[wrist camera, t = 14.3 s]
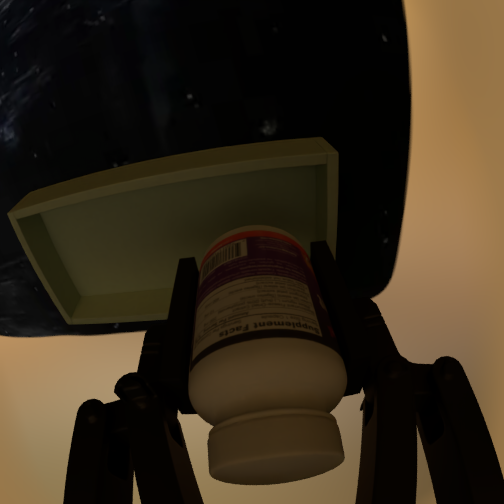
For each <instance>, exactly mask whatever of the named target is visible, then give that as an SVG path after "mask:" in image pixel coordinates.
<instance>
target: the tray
mask: <svg viewBox="0 0 504 504" xmlns="http://www.w3.org/2000/svg"><path fill="white" fill-rule="evenodd" d="M7 214H8V217H9V219H10V221H11V224H12V226H13V228H14V230H15V232H16V234H17V236H18V238H19V241H20V243H21V245H22V247H23V249H24V251H25V253H26V254H27V256H28V258H29V260H30V262H31V264H32V266H33V268H34V269H35V271H36V273H37V275H38V277H39V278H40V280H41V282H42V284H43V285H44V287H45V289H46V290H47V292H48V294H49V295H50V297H51V299H52V300H53V302H54V303H55V305H56V307H57V308H58V310H59V311H60V313H61V314H62V316H63V317H64V319H65V320H66V322H67V323H68V324H95V323H116V322H134V321H149V320H163V319H167V318H168V313H169V307H170V302H171V297H172V292H173V287H174V282H175V277H176V272H177V267H178V262H179V259H181V258H188V257H195V260H196V263H197V267H198V271H200V265H201V261H202V258H203V256H204V254H205V252H206V250H207V249H208V248H209V246H210V245H211V244H212V243H213V242H214V241H215V240H216V239H217V238H219V237H220V236H222V235H223V234H225V233H227V232H229V231H231V230H234V229H236V228H240V227H244V226H250V225H265V226H271V227H275V228H279V229H281V230H284V231H286V232H288V233H289V234H291V235H292V236H294V237H295V238H296V239H297V240H298V241H299V242H300V243H301V244H302V246H303V247H304V248H305V250H306V252H307V254H308V256H309V259H310V242H315V241H323V240H326V241H327V244H328V246H329V248H330V250H331V252H332V255H333V257H334V259H335V255H336V237H337V214H338V152H337V151H336V150H335V149H334V148H333V147H332V146H331V145H330V144H329V143H328V142H327V141H326V140H324V138H322V137H315V138H301V139H289V140H278V141H268V142H259V143H250V144H242V145H235V146H227V147H220V148H214V149H207V150H201V151H195V152H189V153H183V154H178V155H172V156H167V157H162V158H157V159H152V160H147V161H143V162H138V163H134V164H129V165H125V166H121V167H116V168H112V169H108V170H104V171H100V172H96V173H93V174H89V175H85V176H82V177H78V178H74V179H71V180H67V181H64V182H61V183H57V184H54V185H51V186H48V187H45V188H41V189H38V190H35V191H32V192H30V193H29V194H27V195H26V196H25V197H24V198H23V199H22V200H21V201H20V202H19V203H18V204H17V205H16V206H14V207H13V208H12V209H11V210H10V211H9V212H8V213H7Z"/></svg>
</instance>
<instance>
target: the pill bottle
mask: <svg viewBox="0 0 504 504" xmlns="http://www.w3.org/2000/svg"><path fill="white" fill-rule="evenodd" d="M346 386H347V372H346V368H345V364H344V361H343V357H342V354H341V351H340V348H339V345H338V342H337V339H336V335H335V332H334V329H333V326H332V323H331V320H330V317H329V314H328V311H327V308H326V305H325V302H324V299H323V296H322V293H321V290H320V287H319V284H318V282H317V279H316V276H315V273H314V270H313V267H312V264H311V261H310V259H309V256H308V254H307V252H306V250H305V248H304V247H303V246H302V244H301V243H300V242H299V241H298V240H297V239H296V238H295V237H294V236H292V235H291V234H289V233H288V232H286V231H284V230H281V229H279V228H275V227H271V226H265V225H250V226H244V227H240V228H236V229H234V230H231V231H229V232H227V233H225V234H223V235H222V236H220V237H219V238H217V239H216V240H215V241H214V242H213V243H212V244H211V245H210V246H209V248H208V249H207V250H206V252H205V254H204V256H203V258H202V261H201V265H200V271H199V278H198V287H197V296H196V306H195V315H194V325H193V335H192V345H191V355H190V367H189V381H188V392H189V399H190V402H191V404H192V406H193V408H194V409H195V411H196V412H197V413H198V415H199V416H200V417H201V418H202V419H203V420H205V421H206V422H207V423H209V424H210V425H212V426H214V427H213V428H212V429H211V431H210V432H209V439H208V443H207V444H208V460H209V473H210V475H211V477H213V478H214V479H216V480H219V481H222V482H225V483H232V484H240V485H270V484H280V483H287V482H293V481H298V480H302V479H306V478H310V477H314V476H317V475H320V474H323V473H325V472H327V471H329V470H332V469H334V468H336V467H337V466H339V465H340V464H341V463H342V462H343V461H344V458H345V457H344V451H343V446H342V440H341V435H340V431H339V427H338V425H337V422H336V419H335V417H334V416H333V415H332V414H330V412H331V411H332V410H333V409H334V408H335V407H336V406H337V405H338V403H339V402H340V401H341V399H342V397H343V395H344V393H345V390H346Z"/></svg>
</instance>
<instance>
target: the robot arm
mask: <svg viewBox="0 0 504 504" xmlns="http://www.w3.org/2000/svg"><path fill="white" fill-rule="evenodd" d="M310 261H311V264H312V267H313V270H314V273H315V276H316V279H317V282H318V284H319V287H320V290H321V293H322V296H323V299H324V302H325V305H326V308H327V311H328V314H329V317H330V320H331V323H332V326H333V329H334V332H335V335H336V339H337V342H338V345H339V348H340V351H341V354H342V357H343V361H344V364H345V368H346V372H347V386H346V390H345V393H344V395H343V397H345V396H349V395H354V394H358V393H360V391H361V389H362V387H363V390H364V394H365V397H364V400H363V402H362V404H361V407H360V411H362V410H363V422H362V424H363V425H362V441H361V455H360V467H359V477H358V486H357V487H358V488H357V495H356V503H355V504H416V488H417V428H418V431H419V434H420V438H421V442H422V445H423V449H424V453H425V456H426V460H427V463H428V468H429V472H430V476H431V480H432V484H433V489H434V493H435V498H436V503H437V504H504V479H503V475H502V472H501V468H500V464H499V461H498V458H497V454H496V451H495V448H494V445H493V442H492V439H491V436H490V434H489V431H488V428H487V425H486V422H485V420H484V417H483V414H482V412H481V409H480V407H479V404H478V402H477V399H476V397H475V394H474V392H473V390H472V387H471V385H470V383H469V381H468V378H467V376H466V374H465V372H464V370H463V367H462V366H461V364H460V363H459V361H457V360H456V359H455V358H452V357H449V356H444V357H440V358H438V359H437V360H436V361H435V363H434V364H416V363H412V362H409V361H408V360H407V359H406V358H404V357H402V356H401V355H400V354H399V352H398V350H397V348H396V346H395V344H394V341H393V339H392V337H391V335H390V332H389V330H388V328H387V325H386V324H385V321H384V319H383V317H382V316H381V312H380V310H379V308H378V306H377V304H376V303H374V302H373V301H372V300H371V299H370V298H369V297H363V298H358V299H352V298H351V296H350V294H349V291H348V289H347V287H346V284H345V282H344V280H343V277H342V275H341V273H340V270H339V268H338V266H337V264H336V261H335V259H334V257H333V255H332V252H331V250H330V248H329V246H328V244H327V241H326V240H323V241H315V242H310ZM198 278H199V271H198V267H197V263H196V260H195V257H188V258H181V259H179V262H178V267H177V272H176V277H175V282H174V287H173V292H172V297H171V302H170V307H169V313H168V318H167V323H159V324H151V326H150V327H149V329H148V330H147V332H146V333H145V337H144V341H143V347H142V351H141V356H140V360H139V365H138V370H137V372H134V373H128V374H126V375H123V376H122V377H121V378H120V379H119V380H118V381H117V383H116V385H115V389H114V393H115V394H116V395H117V396H118V397H119V398H120V400H117V401H114V402H110V403H106V404H103V403H102V402H101V401H100V400H97V399H90V400H87V401H85V402H83V404H82V405H81V406H80V407H79V409H78V412H77V416H76V421H75V426H74V431H73V436H72V442H71V448H70V454H69V460H68V467H67V474H66V482H65V491H64V502H63V504H132V502H133V477H134V476H133V475H134V472H135V477H136V482H137V487H138V491H139V496H140V500H141V504H204V503H203V500H202V497H201V494H200V491H199V488H198V484H197V481H196V478H195V475H194V471H193V468H192V465H191V461H190V458H189V454H188V451H187V448H186V443H185V440H184V436H183V432H182V428H181V424H180V422H179V420H178V419H177V413H178V410H179V411H180V412H181V414H198V413H197V412H196V411H195V409H194V408H193V406H192V404H191V402H190V399H189V392H188V381H189V367H190V355H191V345H192V335H193V325H194V315H195V306H196V296H197V287H198Z"/></svg>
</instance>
